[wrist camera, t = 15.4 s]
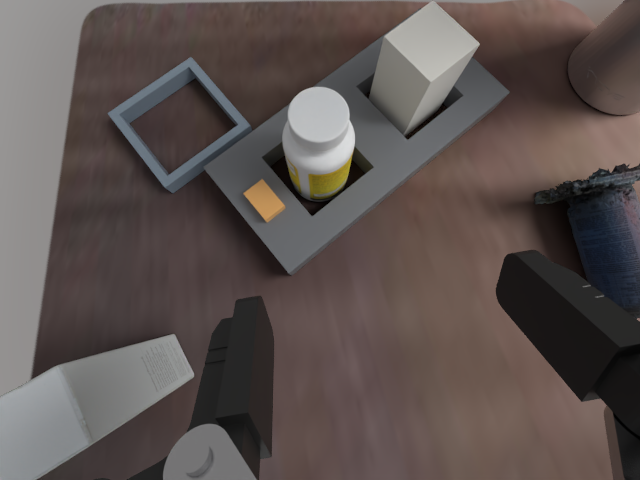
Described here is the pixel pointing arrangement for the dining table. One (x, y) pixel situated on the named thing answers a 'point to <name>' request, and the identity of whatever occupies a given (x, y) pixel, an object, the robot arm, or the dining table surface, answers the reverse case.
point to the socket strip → (366, 132)
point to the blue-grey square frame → (157, 94)
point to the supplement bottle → (318, 143)
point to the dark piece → (606, 231)
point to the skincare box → (84, 404)
